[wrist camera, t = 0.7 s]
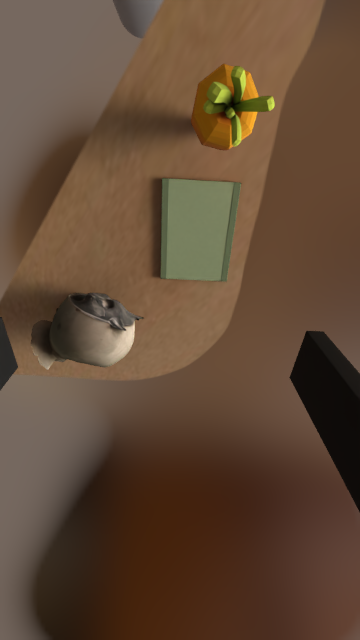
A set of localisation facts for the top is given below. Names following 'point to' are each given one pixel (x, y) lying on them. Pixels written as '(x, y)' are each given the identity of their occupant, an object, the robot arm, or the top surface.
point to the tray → (197, 228)
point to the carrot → (227, 107)
